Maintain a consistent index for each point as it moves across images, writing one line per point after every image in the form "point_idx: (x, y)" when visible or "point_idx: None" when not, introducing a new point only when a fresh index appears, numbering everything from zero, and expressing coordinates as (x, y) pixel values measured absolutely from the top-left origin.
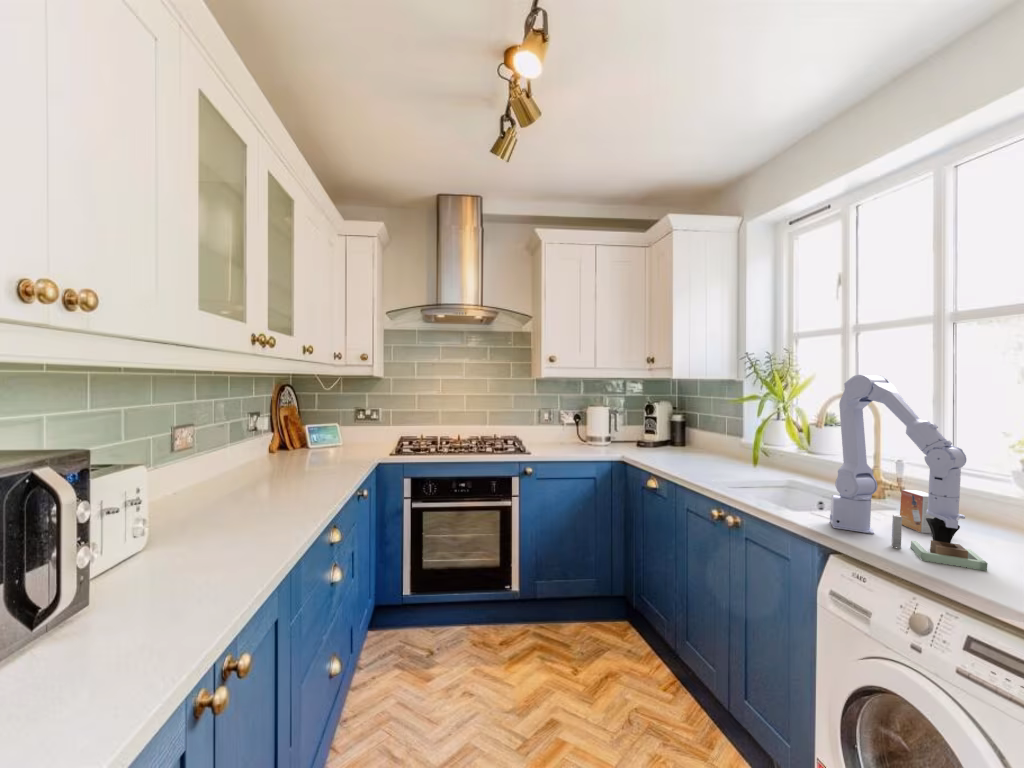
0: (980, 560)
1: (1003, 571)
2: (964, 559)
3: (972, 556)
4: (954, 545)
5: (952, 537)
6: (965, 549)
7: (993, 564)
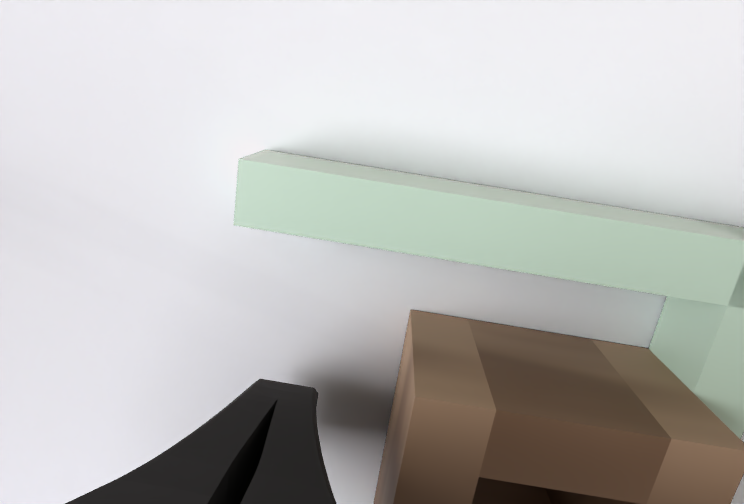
0: (730, 284)
1: (710, 41)
2: None
3: (530, 269)
4: (475, 470)
5: (333, 498)
6: (663, 441)
7: (465, 16)
